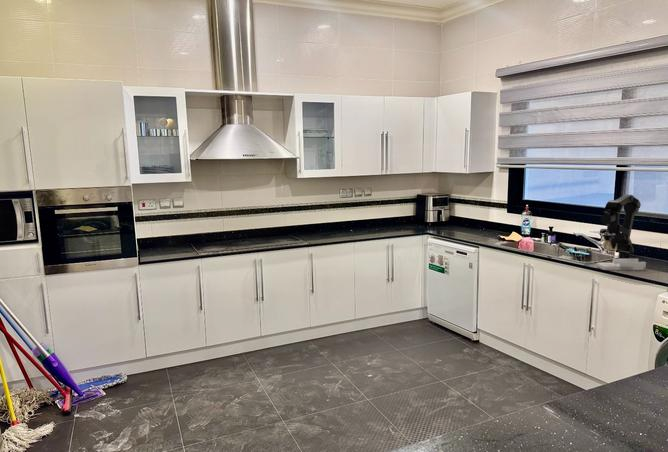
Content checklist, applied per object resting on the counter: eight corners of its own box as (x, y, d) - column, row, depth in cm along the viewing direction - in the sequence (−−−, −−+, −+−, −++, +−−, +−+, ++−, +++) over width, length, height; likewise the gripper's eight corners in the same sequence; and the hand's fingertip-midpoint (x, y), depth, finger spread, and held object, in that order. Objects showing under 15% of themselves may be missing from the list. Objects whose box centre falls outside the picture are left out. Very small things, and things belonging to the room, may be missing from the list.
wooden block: (603, 248, 274) (604, 240, 273) (612, 248, 273) (613, 240, 272) (607, 250, 269) (608, 242, 268) (616, 250, 268) (617, 242, 268)
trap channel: (596, 265, 277) (597, 258, 276) (636, 265, 274) (637, 258, 274) (603, 269, 268) (604, 262, 267) (645, 269, 265) (645, 262, 265)
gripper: (636, 224, 258) (634, 251, 261) (619, 219, 277) (617, 244, 279) (615, 224, 259) (613, 251, 262) (600, 219, 278) (598, 244, 280)
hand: (611, 247), depth 271 cm, fingers closed on wooden block, 5 cm apart
